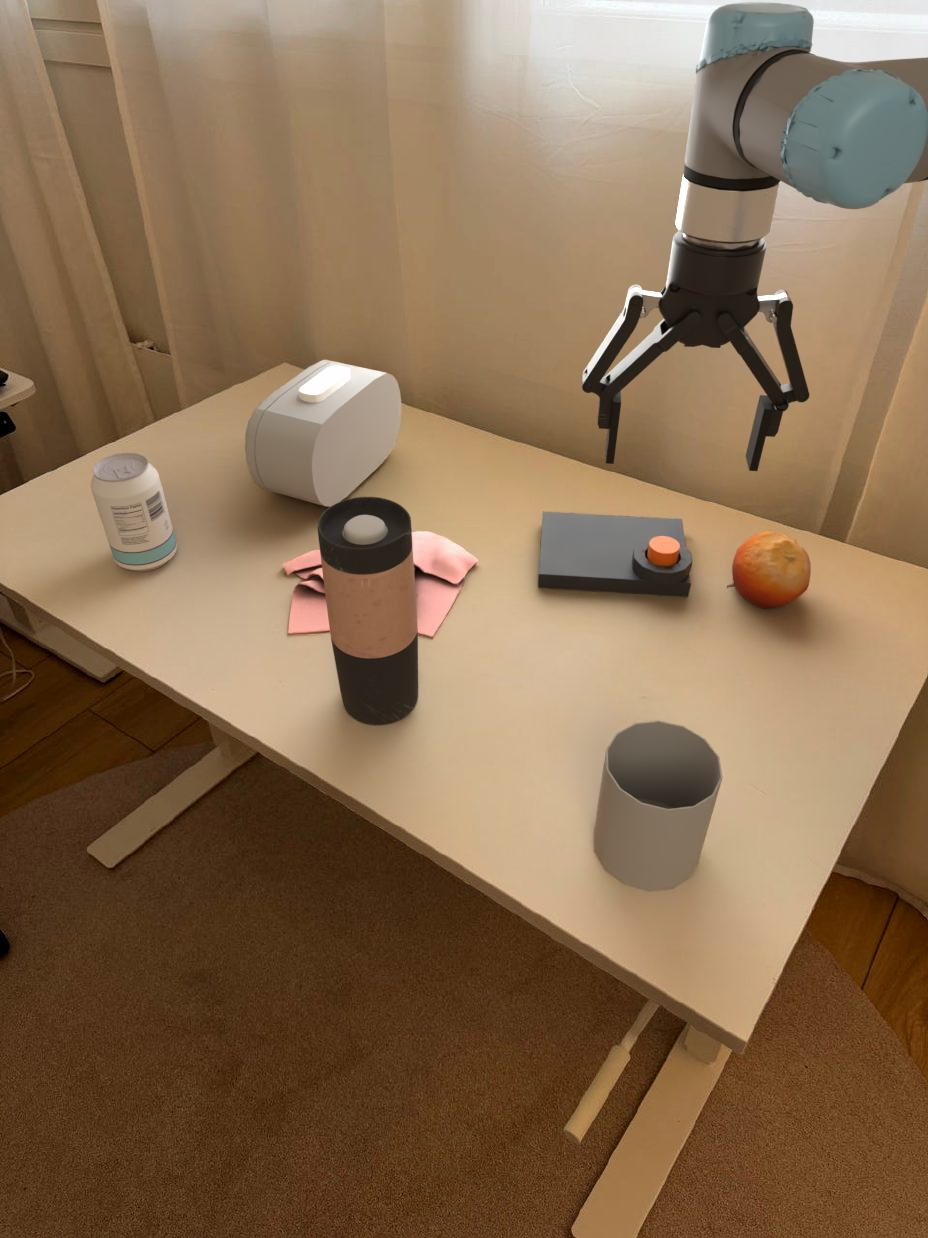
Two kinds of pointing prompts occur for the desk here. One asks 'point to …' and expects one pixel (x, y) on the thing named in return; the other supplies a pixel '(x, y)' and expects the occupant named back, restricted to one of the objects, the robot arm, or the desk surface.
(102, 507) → the beverage can
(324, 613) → the cloth
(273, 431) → the alarm clock
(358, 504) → the travel mug
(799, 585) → the fruit
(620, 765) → the cup
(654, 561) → the button
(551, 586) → the scale
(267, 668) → the desk surface
